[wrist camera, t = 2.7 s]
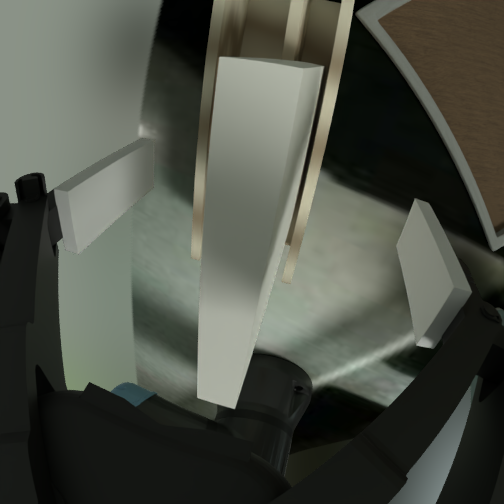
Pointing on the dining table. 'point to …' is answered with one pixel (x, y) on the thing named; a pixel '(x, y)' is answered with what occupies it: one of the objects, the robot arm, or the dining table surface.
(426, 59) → the picture frame
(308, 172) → the rack
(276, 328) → the dining table surface
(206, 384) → the tall sheet
